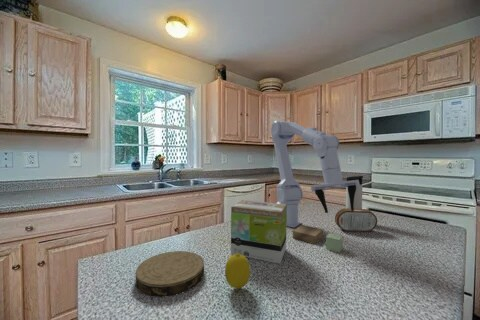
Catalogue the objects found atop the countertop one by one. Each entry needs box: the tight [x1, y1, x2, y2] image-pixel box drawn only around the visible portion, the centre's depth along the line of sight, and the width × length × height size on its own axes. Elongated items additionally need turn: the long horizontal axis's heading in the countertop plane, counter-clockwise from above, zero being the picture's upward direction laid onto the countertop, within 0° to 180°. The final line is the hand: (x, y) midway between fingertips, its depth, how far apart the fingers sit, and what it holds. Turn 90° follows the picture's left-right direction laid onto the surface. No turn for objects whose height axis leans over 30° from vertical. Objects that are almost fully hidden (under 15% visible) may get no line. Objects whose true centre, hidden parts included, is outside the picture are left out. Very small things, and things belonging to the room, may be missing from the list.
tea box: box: [230, 199, 287, 265], centre depth 67 cm, size 15×10×15 cm, turn 70°
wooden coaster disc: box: [135, 250, 205, 298], centre depth 55 cm, size 16×16×3 cm
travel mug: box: [345, 175, 364, 209], centre depth 97 cm, size 6×7×20 cm
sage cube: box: [325, 232, 344, 253], centre depth 70 cm, size 4×4×4 cm
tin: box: [334, 208, 378, 233], centre depth 86 cm, size 15×3×8 cm, turn 84°
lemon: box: [224, 253, 251, 290], centre depth 49 cm, size 6×6×8 cm
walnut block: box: [292, 224, 324, 245], centre depth 80 cm, size 8×8×3 cm
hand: (339, 211), depth 71 cm, fingers open, 7 cm apart
